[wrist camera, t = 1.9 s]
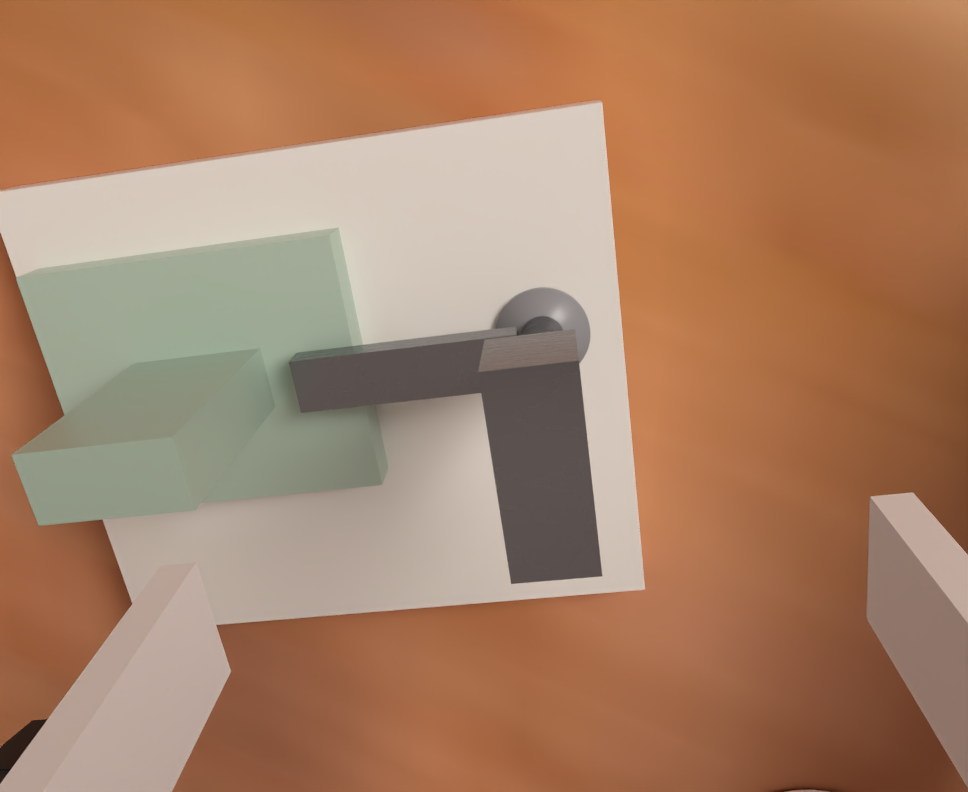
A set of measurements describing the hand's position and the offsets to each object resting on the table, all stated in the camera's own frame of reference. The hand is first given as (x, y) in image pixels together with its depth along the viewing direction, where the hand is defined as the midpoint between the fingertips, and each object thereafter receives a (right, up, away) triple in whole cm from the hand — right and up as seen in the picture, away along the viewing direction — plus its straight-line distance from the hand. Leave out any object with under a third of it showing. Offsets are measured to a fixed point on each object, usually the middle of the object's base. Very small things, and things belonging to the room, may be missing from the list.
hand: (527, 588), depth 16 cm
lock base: (-7, +4, +19) cm, 21 cm away
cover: (-11, +5, +17) cm, 21 cm away
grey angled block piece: (-2, +6, +16) cm, 17 cm away
